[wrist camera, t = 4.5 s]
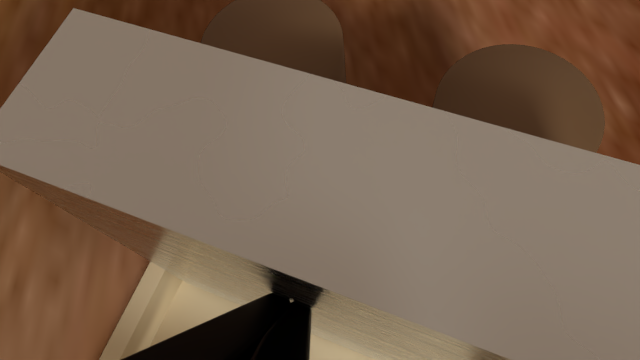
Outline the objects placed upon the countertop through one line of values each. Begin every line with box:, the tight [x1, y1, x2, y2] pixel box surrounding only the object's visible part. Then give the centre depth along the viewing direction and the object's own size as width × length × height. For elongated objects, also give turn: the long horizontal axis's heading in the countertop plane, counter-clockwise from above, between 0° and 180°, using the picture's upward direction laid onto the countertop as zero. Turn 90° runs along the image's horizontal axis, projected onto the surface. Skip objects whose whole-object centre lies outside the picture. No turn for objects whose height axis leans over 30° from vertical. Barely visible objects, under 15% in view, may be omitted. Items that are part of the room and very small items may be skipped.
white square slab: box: [0, 8, 640, 360], centre depth 11 cm, size 3×10×10 cm, turn 69°
